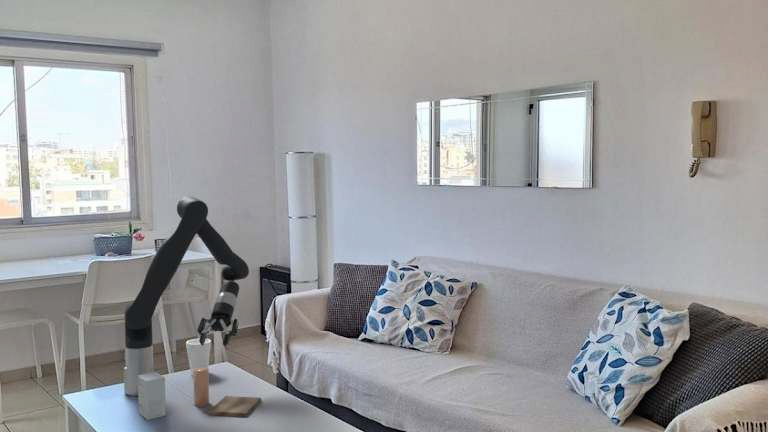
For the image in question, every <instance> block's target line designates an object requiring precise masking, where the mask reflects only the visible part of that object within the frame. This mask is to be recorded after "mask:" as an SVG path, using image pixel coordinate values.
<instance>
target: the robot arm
mask: <svg viewBox="0 0 768 432" xmlns="http://www.w3.org/2000/svg"><path fill="white" fill-rule="evenodd" d="M176 211H177V215H178V216H179V217H180V220H179V224H178V225H177V227H176V229H175V231H174V232H173V233H172V235H171V236H169V238H167V239H166V241H164V242H163V243H162V244H161V245H160V246H159V248H158V249H157V251H156V253H155V255H154V256H153V258H152V260H151V263H150V265H149V267H148V269H147V272H146V275H145V278H144V281H143V283H142V286H141V289H140V290H139V292H138V294H137V296H136V297H135V299H134V300H133V301H131V302H130V303H129V304H128V305H127V306H126V307H125V309H124V310H125V311H124V337H125V338H124V339H125V367H123V381H124V382H123V386H124V387H123V388H124V389H123V390H124V394H125V395H128V396H131V397H138V375H142V374H147V373H153V372H154V347H153V346H154V345H153V321H152V320H153V317H154V313H155V311H156V308H157V306H158V304H159V301H160V300H161V297H162V295H163V294H164V292H165V291H166V289H168V286H169V284H170V282H171V281H172V280H173V278H174V276H175V275H176V273H177V271H178V269H179V267H180V265H181V263H182V260H183V259H184V257H185V255H186V253H187V251H188V250H189V247H190V245H191V243H192V242H193V239H194V238H195V237H196V235H197V236H198V237H199V239H200V240H201V241H202V242H203V244H204V246H205V247H206V248H207V250H208V251H209V252H210V253H209V254H211V256H212V257H213V259H214V260H215V261H216V262H217V264H218V265H223V267H222V268H221V272H220V283H221V284H220V289H219V292H218V294H217V296H216V299H215V302H214V305H213V308H212V310H211V311H212V312H211V316H210V318H209V319H206V318H205V317H202V318H201V319H200V322H199V324H198V327H197V330H196V332H197V333H198V335H200V337H199V338H200V340H199V342H200V344H201V345H204V343H205V340H206V339H207V336H208V335H209V334H211V333H213V332H223V331H224V332H225V335H224V338H223V341H222V345H223V347H227V345H229V343H230V339H231V337H236V336H237V334H238V328H239V321H238V319H237V318H234V319H232V318H233V315H234V311H235V308H236V304H237V300H238V295H239V291H240V285H239V283H237V282H236V281H239V280H243V279H246V278H247V277H248V276H249V273H250V269H249V266H248V263H246V261H245V260H244V259H242V257H240V256H239V255H238V254H236V253H235V252H234V251H233V250H232V248H231V247H230V246H229V244H228V243H227V242H226V240H225V239H224V237H222V235H220V233H219V232H218V231H217V230H216V229H215V228H214V226H213V225H212V224H211V222H210V221H208V219H207V217H208V214H209V208H208V206H207V203H206V202H204V201H202V200H201V199H199V198H196V197H193V196H183V198H181V199H180V200H179V201H178V203H177V204H176ZM230 326H231V331H229V329H228V328H229V327H230Z"/></svg>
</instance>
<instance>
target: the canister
mask: <svg viewBox="0 0 768 432" xmlns="http://www.w3.org/2000/svg"><path fill="white" fill-rule="evenodd" d="M209 404H210V377H209V367H208V368H196V369H194V376H193V405H194V406H195V407H205V405H206V406H207V405H209Z"/></svg>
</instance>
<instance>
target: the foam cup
mask: <svg viewBox="0 0 768 432" xmlns="http://www.w3.org/2000/svg"><path fill="white" fill-rule="evenodd" d="M199 340H200V337H199V338H192V339H189V340H187V341H186V342H185V345H186V346H185V349H186V351H187V357H188V358H187V359H188V364H189V369H190V370H189V371H190V376H193V377H194V369H196V368H208V369H209V364H210V356H211V355H210V354H211V347H212V340H211V339H209V338H206V340H205V343H204V345H201V344H200V342H199Z"/></svg>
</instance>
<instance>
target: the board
mask: <svg viewBox="0 0 768 432" xmlns="http://www.w3.org/2000/svg"><path fill="white" fill-rule="evenodd" d="M261 401H262V397H257V396H256V397H255V396H253V397H252V396H237V395H235V396H234V395H225V396H224V397H223V398H221V399H220V400H219V401H218V402H217V403H216V404H215V405H214V406H213V407H211V408H210V409H209V410H208V412H207V413H208V416H210V415H211V416H227V417H241V418H242V417H244V418H247V416H249V414H250V413H251V412H252V411H253V410H254V409H255V408H256V407H257V406H258V405H259V404H260V403H261Z"/></svg>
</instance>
